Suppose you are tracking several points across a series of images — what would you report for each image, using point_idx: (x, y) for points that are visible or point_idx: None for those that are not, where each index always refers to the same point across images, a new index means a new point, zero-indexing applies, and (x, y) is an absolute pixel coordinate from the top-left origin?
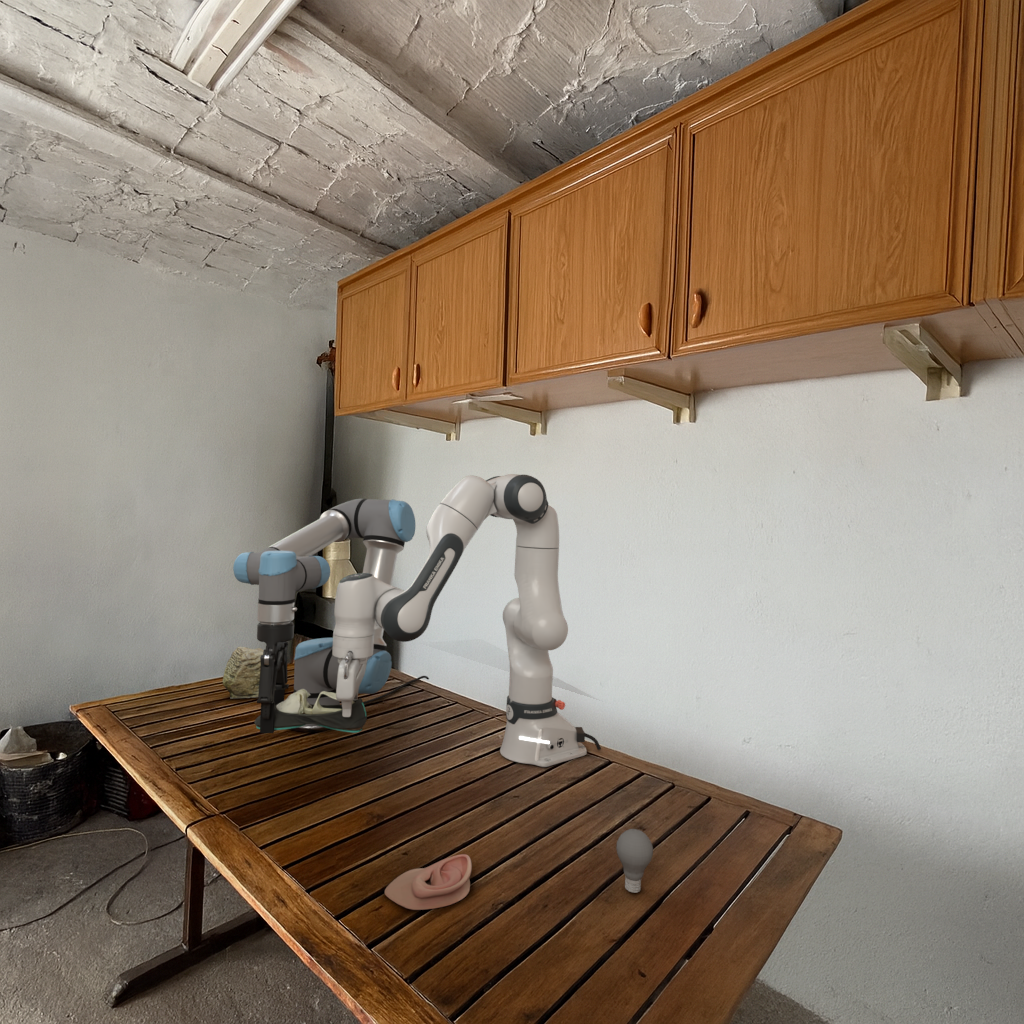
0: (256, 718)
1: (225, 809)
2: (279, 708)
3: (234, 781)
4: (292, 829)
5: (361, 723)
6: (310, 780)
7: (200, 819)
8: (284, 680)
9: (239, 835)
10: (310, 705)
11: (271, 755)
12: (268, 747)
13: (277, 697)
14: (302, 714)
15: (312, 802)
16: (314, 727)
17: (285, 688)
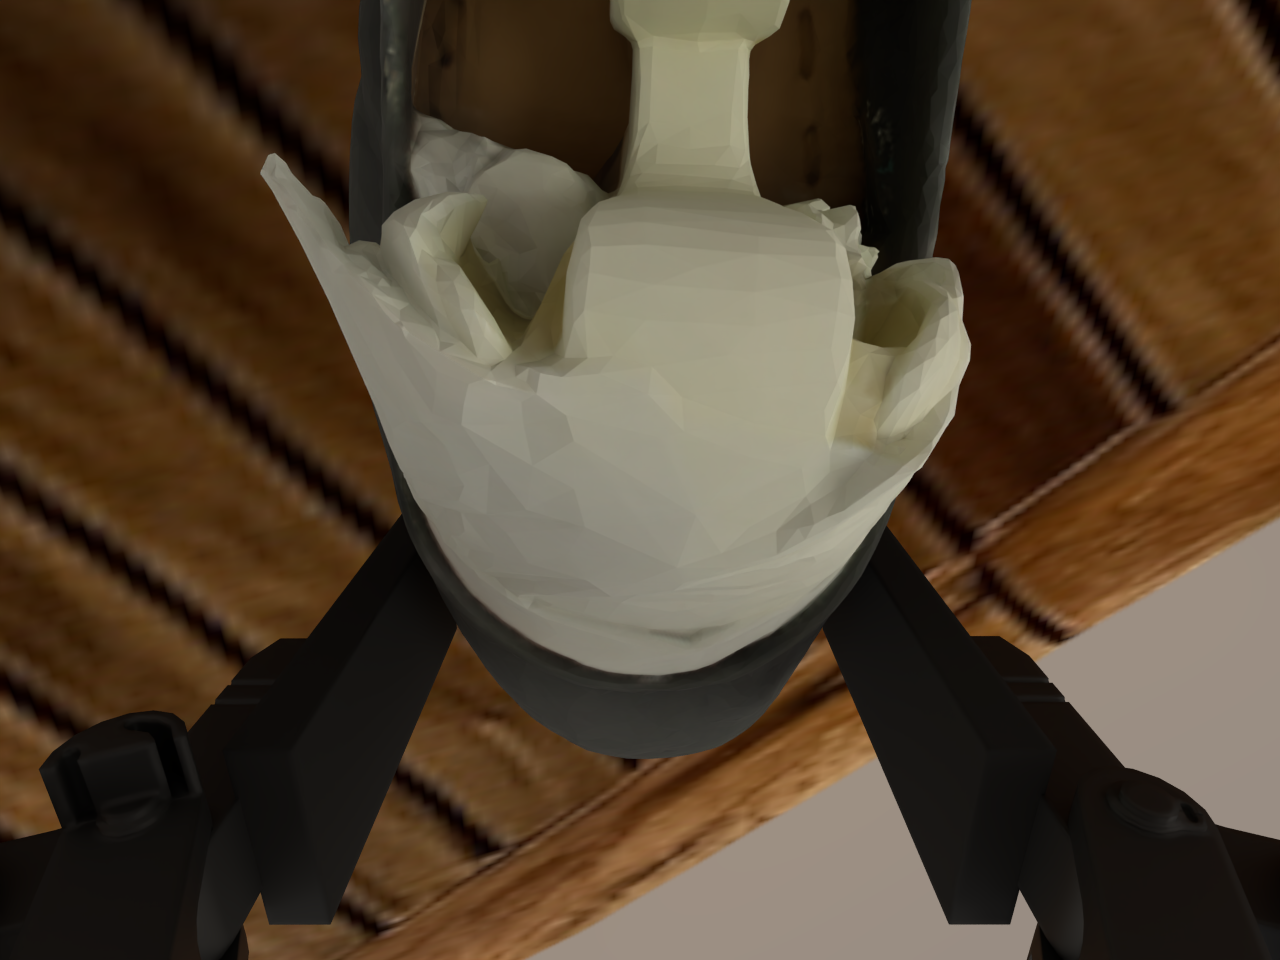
0: (639, 758)
1: (933, 540)
2: (799, 606)
3: None
4: (1255, 122)
5: None
6: None
7: (1014, 613)
8: (74, 944)
9: (1228, 399)
10: (440, 139)
11: (252, 492)
12: (138, 539)
13: (358, 747)
14: (941, 187)
15: None
16: None
17: (192, 757)
